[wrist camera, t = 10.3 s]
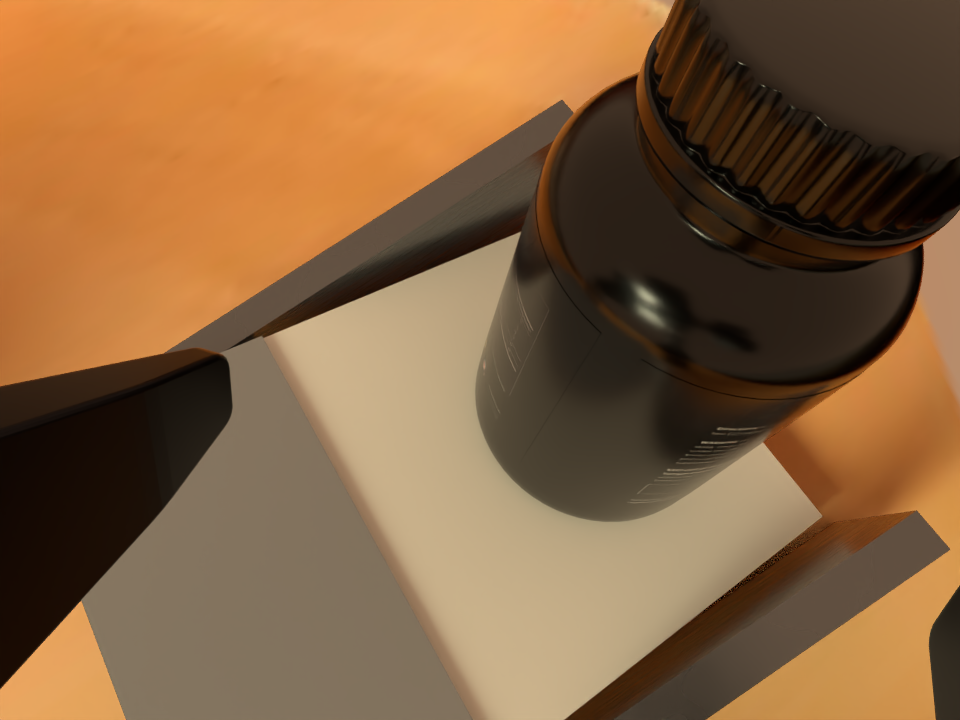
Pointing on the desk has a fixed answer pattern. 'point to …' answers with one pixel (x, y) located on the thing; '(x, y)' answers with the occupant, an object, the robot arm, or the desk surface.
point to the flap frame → (729, 623)
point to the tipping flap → (404, 540)
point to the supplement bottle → (720, 245)
